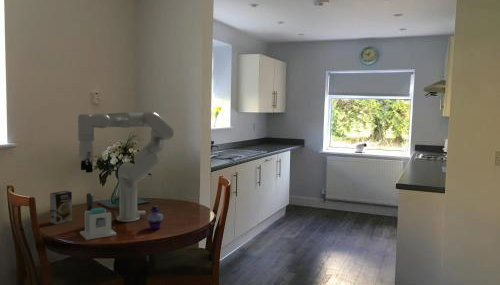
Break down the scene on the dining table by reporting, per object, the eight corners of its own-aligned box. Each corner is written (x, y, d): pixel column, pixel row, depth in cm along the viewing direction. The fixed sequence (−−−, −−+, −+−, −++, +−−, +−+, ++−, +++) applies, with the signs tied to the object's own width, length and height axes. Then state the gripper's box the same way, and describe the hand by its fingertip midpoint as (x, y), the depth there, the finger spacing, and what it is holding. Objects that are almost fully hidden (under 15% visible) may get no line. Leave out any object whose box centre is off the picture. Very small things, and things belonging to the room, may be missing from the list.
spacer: (102, 215, 201) (102, 207, 201) (104, 217, 198) (104, 209, 198) (90, 217, 198) (90, 209, 198) (93, 218, 195) (93, 210, 194)
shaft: (92, 215, 212) (91, 193, 211) (104, 225, 195) (104, 200, 194) (86, 216, 210) (85, 193, 209) (98, 226, 193) (97, 201, 192)
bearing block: (108, 228, 208) (108, 207, 207) (116, 234, 198) (116, 212, 197) (79, 233, 199) (79, 211, 199) (86, 239, 190) (86, 216, 189)
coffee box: (57, 224, 214) (56, 194, 212) (49, 222, 217) (49, 192, 216) (72, 220, 221) (72, 191, 220) (65, 218, 225) (64, 190, 224)
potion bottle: (156, 225, 216) (156, 203, 215) (166, 228, 211) (167, 205, 210) (142, 228, 209) (142, 205, 208) (153, 232, 204) (153, 208, 203)
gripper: (74, 137, 213) (75, 169, 214) (82, 139, 199) (83, 173, 200) (89, 136, 217) (89, 168, 219) (98, 139, 204) (98, 172, 205)
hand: (86, 171), depth 210 cm, fingers open, 9 cm apart
